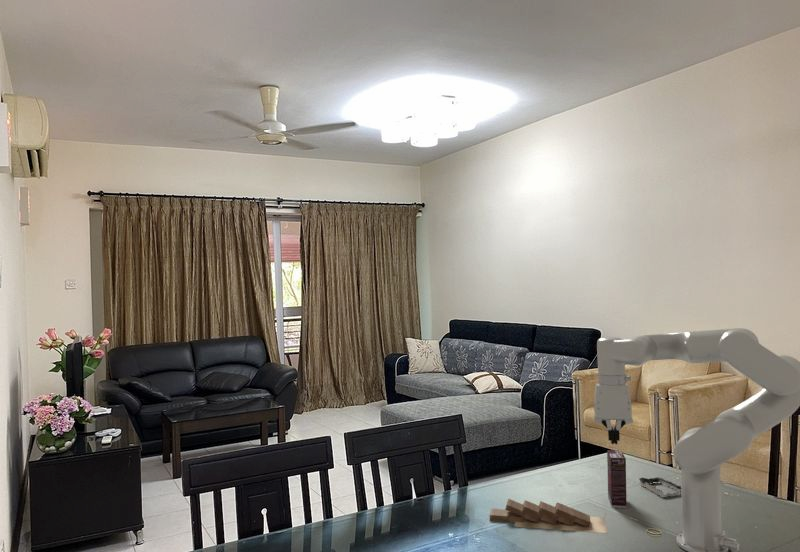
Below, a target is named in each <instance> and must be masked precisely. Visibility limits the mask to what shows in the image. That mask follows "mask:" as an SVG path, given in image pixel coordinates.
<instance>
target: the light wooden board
mask: <svg viewBox="0 0 800 552" xmlns="http://www.w3.org/2000/svg"><path fill="white" fill-rule="evenodd" d="M590 521H591V523H590V526H589V527H587V526H584V525H582V524H579V523H577V522H574V521H573V524H572V526H570V525H568V524H565V523H563V522H560V521H558V520H557V521H556V524H555V525H554V524H552V523H549V522H547V521H545V520H542V519H540V518H539V521H538V523H536V522H534V521H531V520H529V519H527V518H524V522H523V523H522V522H514V527H518V528H529V529H530V528H531V529H545V530H557V531H558V530H559V531H571V532H572V531H573V532H584V533H585V532H586V533H596V534H597V533H598V534H601V533H602V534H608V529H607V528H608V527H607V524H606V520H605V517H600V516H590Z"/></svg>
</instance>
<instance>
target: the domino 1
mask: <svg viewBox="0 0 800 552" xmlns="http://www.w3.org/2000/svg"><path fill="white" fill-rule="evenodd" d="M505 509H506V508H505ZM505 509H504V508H503V509H502V508H490V513H489V521H497V522H508V523H509V522H510V523H515V522H522V523H523V522H524V517H522V516H520V515H517V514H515V513H512V512H510V511H508V510H505Z"/></svg>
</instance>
